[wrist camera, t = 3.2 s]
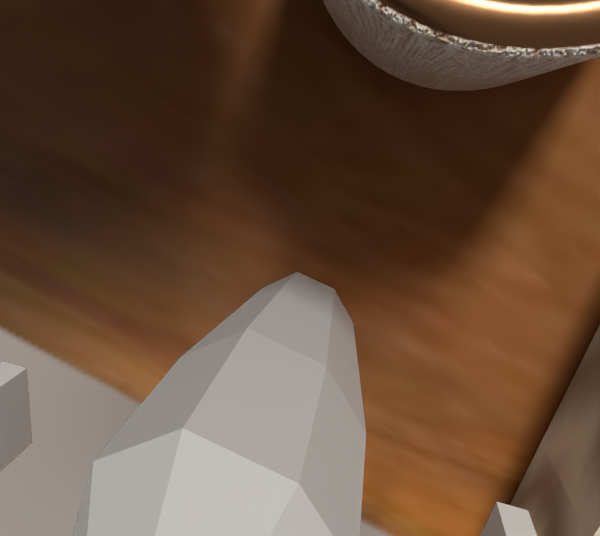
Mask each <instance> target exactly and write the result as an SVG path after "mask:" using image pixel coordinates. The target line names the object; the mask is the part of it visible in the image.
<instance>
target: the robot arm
mask: <svg viewBox="0 0 600 536" xmlns="http://www.w3.org/2000/svg"><path fill="white" fill-rule="evenodd" d="M31 443H32V432H31V420H30V406H29V392H28V379H27V368H24V367H21V366H17V365H14V364H10V363H7V362H1V363H0V472H1V471H2V470H3V469H4V468H5V467H6V466H7V465H8V464H9V463H11V462H12V461H13V460H14V459H15V458H16V457H17V456H18V455H19V454H20V453H21V452H22V451H23V450H24V449H26V448H27V447H28V446H29V445H30V444H31ZM480 536H537V534H536V531H535V529H534V526H533V523H532V520H531V517H530V515H529V512H528V510H525V509H521V508H518V507H514V506H511V505H507V504H504V503H500V502H496V504H495V506H494V508H493V510H492V512H491V514H490V516H489V518H488V520H487V523H486V525H485V527H484V529H483V531H482V533H481V535H480Z"/></svg>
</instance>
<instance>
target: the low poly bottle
mask: <svg viewBox="0 0 600 536" xmlns="http://www.w3.org/2000/svg"><path fill="white" fill-rule="evenodd" d="M365 443H366V428H365V419H364V411H363V403H362V394H361V386H360V377H359V369H358V360H357V352H356V344H355V335H354V327H353V322H352V320H351V318H350V316H349V314H348V313H347V311H346V309H345V307H344V305H343V304H342V302H341V300H340V298H339V296H338V295H337V293H336V291H335V289H334V288H332V287H329V286H327V285H325V284H323V283H321V282H319V281H316V280H314V279H312V278H310V277H308V276H305V275H303V274H301V273H299V272H295V273H293V274H291V275H289V276H286V277H284V278H282V279H280V280H278V281H276V282H274V283H272V284H269V285H267V286H265V287H263V288H262V289H261V290H259V291H258V292H257V293H256V294H255V295H254V296H252V297H251V298H250V299H249V300H248V301H246V302H245V303H244V304H243V305H242V306H241V307H239V308H238V309H237V310H236V311H235V312H233V313H232V314H231V315H230V316H229V317H228V318H226V319H225V320H224V321H223V322H222V323H221V324H219V325H218V326H217V327H216V328H215V329H213V330H212V331H211V332H210V333H209V334H208V335H206V336H205V337H204V338H203V339H202V340H200V341H199V342H198V343H197V344H196V345H195V346H193V347H192V348H191V349H190V350H189V351H187V352H186V353H185V354H184V355H183V356H182V357H180V358H179V360H178V361H177V362H176V363H175V364H174V366H173V367H172V368H171V369H170V370H169V371H168V373H167V374H166V375H165V376H164V377H163V379H162V380H161V381H160V382H159V383H158V385H157V386H156V387H155V388H154V389H153V391H152V392H151V393H150V394H149V395H148V397H147V398H146V399H145V400H144V401H143V402H142V404H141V405H140V406H139V407H138V409H137V410H136V411H135V412H134V413H133V414H132V416H131V417H130V418H129V419H128V420H127V422H126V423H125V424H124V425H123V426H122V428H121V429H120V430H119V431H118V432H117V434H116V435H115V436H114V437H113V438H112V439H111V441H110V442H109V443H108V444H107V445H106V447H105V448H104V449H103V450H102V451H101V453H100V454H99V455H98V456H97V457H96V459H95V460H94V461H93V464H92V467H91V471H90V474H89V478H88V481H87V485H86V488H85V492H84V495H83V499H82V502H81V506H80V510H79V513H78V517H77V520H76V524H75V527H74V531H73V536H360V524H361V508H362V492H363V476H364V460H365Z"/></svg>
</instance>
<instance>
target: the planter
mask: <svg viewBox="0 0 600 536" xmlns="http://www.w3.org/2000/svg"><path fill="white" fill-rule="evenodd" d="M322 1H323V3H324V5H325V7H326V8H327V10H328V12H329V14H330V15H331V17H332V19H333V21H334V22H335V24H336V25H337V27H338V28H339V29H340V31H341V32H342V34H343V35H344V36H345V37H346V38H347V40H348V41H349V42H350V43H351V44H352V45H353V46H354V47H355V48H356V49H357V50H358V51H359V52H360V53H361V54H362V55H363V56H364V57H365V58H367V59H368V60H369V61H370V62H372V63H373V64H374V65H376V66H377V67H379V68H380V69H382V70H384V71H385V72H387V73H389V74H391V75H393V76H395V77H397V78H399V79H401V80H404V81H406V82H409V83H412V84H415V85H419V86H422V87H427V88H432V89H438V90H447V91H471V90H481V89H488V88H493V87H498V86H502V85H506V84H510V83H513V82H517V81H520V80H524V79H527V78H530V77H534V76H537V75H540V74H543V73H547V72H550V71H553V70H556V69H559V68H563V67H566V66H570V65H573V64H576V63H580V62H584V61H587V60H591V59H595V58H598V57H600V0H322Z"/></svg>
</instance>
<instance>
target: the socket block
mask: <svg viewBox="0 0 600 536" xmlns="http://www.w3.org/2000/svg"><path fill="white" fill-rule="evenodd" d="M510 505H511V506H514V507H518V508H521V509H525V510H528V512H529V515H530V517H531V520H532V523H533V526H534V529H535V531H536V534H537V536H600V325H599V327H598V329H597V331H596V333H595V335H594V337H593V339H592V341H591V343H590V345H589V347H588V349H587V351H586V353H585V355H584V357H583V359H582V361H581V363H580V365H579V367H578V369H577V371H576V373H575V375H574V377H573V379H572V381H571V383H570V385H569V387H568V389H567V391H566V393H565V395H564V397H563V399H562V401H561V403H560V405H559V407H558V409H557V411H556V413H555V415H554V417H553V419H552V421H551V423H550V425H549V427H548V429H547V431H546V433H545V435H544V437H543V439H542V441H541V443H540V445H539V447H538V449H537V451H536V453H535V455H534V457H533V459H532V461H531V463H530V465H529V467H528V469H527V471H526V473H525V475H524V477H523V479H522V481H521V483H520V485H519V487H518V489H517V491H516V493H515V495H514V497H513V499H512V501H511V503H510Z"/></svg>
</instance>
